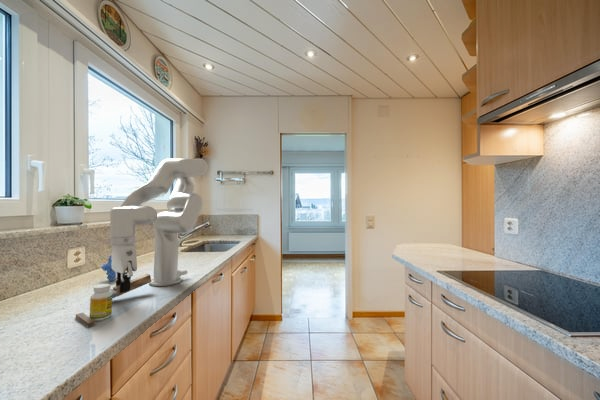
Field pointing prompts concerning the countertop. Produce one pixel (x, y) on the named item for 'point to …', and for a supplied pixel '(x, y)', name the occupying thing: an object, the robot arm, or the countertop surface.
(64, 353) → the countertop surface
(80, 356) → the countertop surface
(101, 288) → the supplement bottle
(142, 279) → the turner
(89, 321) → the stop strip
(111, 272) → the grapes
